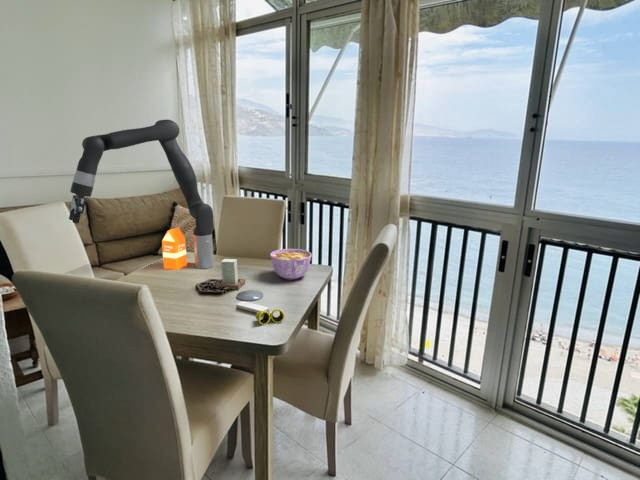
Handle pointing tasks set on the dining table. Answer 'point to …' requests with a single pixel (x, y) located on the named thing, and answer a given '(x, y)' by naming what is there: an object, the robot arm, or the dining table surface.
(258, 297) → the slate coaster
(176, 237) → the orange juice
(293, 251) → the bowl of food
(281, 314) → the opera glasses
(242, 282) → the pocket block
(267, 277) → the dining table surface
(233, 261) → the skincare box
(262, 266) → the dining table surface
